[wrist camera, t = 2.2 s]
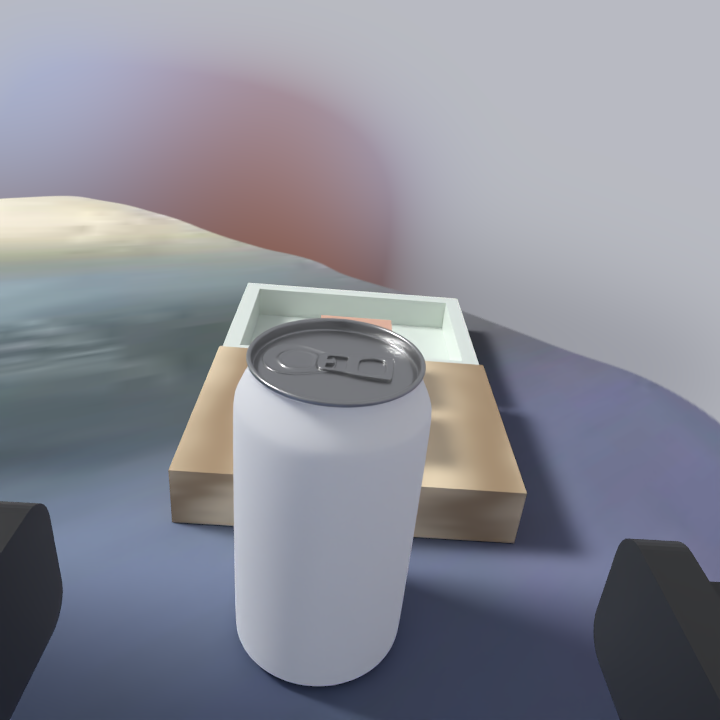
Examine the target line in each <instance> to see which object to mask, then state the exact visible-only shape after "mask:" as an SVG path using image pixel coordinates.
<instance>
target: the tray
mask: <svg viewBox="0 0 720 720" xmlns="http://www.w3.org/2000/svg"><path fill="white" fill-rule="evenodd" d="M321 315H328V316H342V317H355V318H368V319H382V320H391V325H392V331H393V332H395V333H397V334H399V335H401V336H403V337H404V338H406V339H407V340H409V341H410V342H412V343H413V344H414V345H415V346H416V347H417V348H418V349H419V351H420V352H421V353H422V355H423V357H424V360H425V361H434V362H447V363H461V364H475V365H479V363H478V360H477V357H476V354H475V351H474V348H473V345H472V342H471V339H470V336H469V333H468V330H467V327H466V324H465V321H464V318H463V315H462V312H461V309H460V306H459V303H458V300H457V299H454V298H441V297H428V296H415V295H402V294H389V293H376V292H362V291H349V290H336V289H323V288H310V287H297V286H284V285H271V284H258V283H248V285H247V287H246V290H245V292H244V295H243V297H242V300H241V302H240V305H239V307H238V310H237V312H236V314H235V317H234V319H233V322H232V324H231V327H230V329H229V332H228V334H227V337H226V339H225V342H224V344H223V346H226V347H240V348H248V347H249V346H250V344H251V342H252V341H253V340H254V339H255V338H256V337H257V336H259V335H260V334H261V333H263V332H264V331H266V330H268V329H270V328H273V327H275V326H278V325H281V324H284V323H288V322H292V321H297V320H304V319H314V318H321Z"/></svg>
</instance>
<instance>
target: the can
mask: <svg viewBox="0 0 720 720" xmlns="http://www.w3.org/2000/svg"><path fill="white" fill-rule="evenodd" d="M246 361H247V365H248V367H247V368H246V370H245V372H244V373H243V375H242V377H241V379H240V381H239V383H238V385H237V388H236V390H235V395H234V403H233V490H234V560H235V607H236V625H237V632H238V636H239V639H240V641H241V643H242V645H243V647H244V649H245V650H246V652H247V653H248V655H249V656H250V657H251V658H252V659H253V660H254V661H255V662H256V663H257V664H258V665H259V666H260V667H261V668H263V669H264V670H265V671H267V672H268V673H270V674H272V675H274V676H276V677H278V678H280V679H282V680H285V681H288V682H291V683H295V684H300V685H306V686H330V685H336V684H341V683H345V682H348V681H351V680H354V679H356V678H358V677H360V676H362V675H364V674H366V673H367V672H369V671H370V670H372V669H373V668H374V667H375V666H377V665H378V664H379V663H380V662H381V661H382V660H383V659H384V657H385V656H386V655H387V653H388V652H389V650H390V649H391V647H392V645H393V643H394V640H395V637H396V634H397V630H398V625H399V620H400V615H401V609H402V603H403V597H404V591H405V585H406V579H407V573H408V567H409V561H410V554H411V548H412V542H413V536H414V530H415V523H416V517H417V511H418V504H419V498H420V492H421V485H422V479H423V473H424V466H425V460H426V453H427V446H428V440H429V433H430V425H431V411H432V408H431V401H430V397H429V394H428V391H427V388H426V386H425V383H424V381H423V378H424V375H425V371H426V363H425V360H424V357H423V355H422V353H421V352H420V351H419V349H418V348H417V347H416V346H415V345H414V344H413V343H412V342H410V341H409V340H407V339H406V338H404V337H403V336H401V335H399V334H397V333H395V332H393V331H391V330H388V329H386V328H383V327H380V326H377V325H374V324H370V323H366V322H361V321H355V320H348V319H337V318H314V319H304V320H297V321H292V322H288V323H284V324H281V325H278V326H275V327H273V328H270V329H268V330H266V331H264V332H263V333H261V334H260V335H259V336H257V337H256V338H255V339H254V340H253V341H252V342H251V344H250V346H249V347H248V350H247V354H246Z"/></svg>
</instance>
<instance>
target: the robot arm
mask: <svg viewBox="0 0 720 720" xmlns="http://www.w3.org/2000/svg"><path fill="white" fill-rule="evenodd" d="M62 593H63V588H62V579H61V574H60V569H59V563H58V558H57V553H56V547H55V542H54V536H53V531H52V526H51V520H50V516H49V512H48V510H47V508H46V506H45V505H43V504H39V503H21V502H3V501H0V720H10V718H11V716H12V714H13V712H14V710H15V708H16V706H17V704H18V702H19V700H20V698H21V696H22V694H23V692H24V690H25V688H26V686H27V684H28V682H29V680H30V678H31V676H32V674H33V672H34V670H35V668H36V666H37V664H38V662H39V660H40V658H41V656H42V654H43V652H44V650H45V648H46V646H47V644H48V642H49V640H50V638H51V636H52V634H53V631H54V629H55V627H56V624H57V621H58V618H59V614H60V610H61V604H62ZM594 643H595V650H596V654H597V658H598V661H599V664H600V667H601V670H602V672H603V675H604V678H605V680H606V683H607V686H608V688H609V691H610V694H611V697H612V699H613V702H614V705H615V707H616V710H617V713H618V715H619V718H620V720H720V582H710V581H709V580H708V578H707V577H706V575H705V573H704V572H703V570H702V568H701V567H700V565H699V564H698V562H697V560H696V559H695V557H694V556H693V554H692V552H691V551H690V550H689V548H688V547H687V546H686V545H685V544H683V543H682V542H678V541H662V540H644V539H625V540H623V541H622V542H621V543H620V545H619V546H618V549H617V551H616V554H615V557H614V560H613V563H612V566H611V569H610V572H609V575H608V578H607V581H606V584H605V587H604V590H603V593H602V596H601V599H600V602H599V605H598V608H597V610H596V614H595V619H594Z"/></svg>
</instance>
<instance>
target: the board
mask: <svg viewBox="0 0 720 720" xmlns="http://www.w3.org/2000/svg"><path fill="white" fill-rule="evenodd" d="M247 350H248V348H240V347H226V346H219V349H218V351H217V354H216V356H215V359H214V361H213V363H212V366H211V368H210V371H209V373H208V376H207V378H206V380H205V383H204V385H203V388H202V390H201V393H200V395H199V397H198V400H197V402H196V405H195V407H194V410H193V412H192V414H191V417H190V419H189V422H188V424H187V427H186V429H185V431H184V434H183V436H182V439H181V441H180V444H179V446H178V448H177V451H176V453H175V456H174V458H173V461H172V463H171V465H170V468H169V484H170V498H171V512H172V522H180V523H196V524H212V525H229V526H234V490H233V403H234V395H235V390H236V388H237V385H238V383H239V381H240V379H241V377H242V375H243V373H244V372H245V370H246V368H247V367H248V365H247V361H246V354H247ZM425 363H426V371H425V375H424V378H423V381H424V383H425V386H426V388H427V391H428V394H429V397H430V401H431V408H432V411H431V425H430V433H429V440H428V446H427V453H426V460H425V466H424V473H423V479H422V485H421V492H420V498H419V504H418V511H417V517H416V523H415V530H414V536H413V537H423V538H439V539H455V540H471V541H488V542H504V543H514V542H515V538H516V534H517V530H518V526H519V522H520V518H521V515H522V511H523V507H524V503H525V499H526V495H527V492H526V489H525V486H524V483H523V480H522V478H521V475H520V472H519V469H518V466H517V463H516V460H515V457H514V454H513V451H512V448H511V445H510V443H509V440H508V437H507V434H506V431H505V428H504V425H503V422H502V419H501V416H500V413H499V410H498V407H497V405H496V402H495V399H494V396H493V393H492V390H491V387H490V384H489V381H488V378H487V375H486V372H485V370H484V367H483V365H475V364H461V363H447V362H434V361H425Z"/></svg>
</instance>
